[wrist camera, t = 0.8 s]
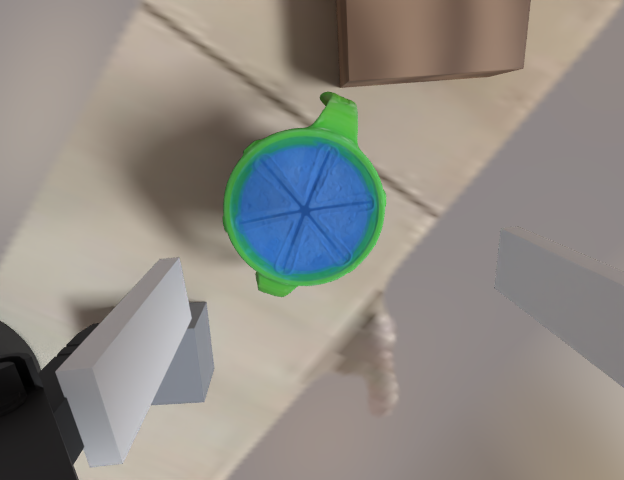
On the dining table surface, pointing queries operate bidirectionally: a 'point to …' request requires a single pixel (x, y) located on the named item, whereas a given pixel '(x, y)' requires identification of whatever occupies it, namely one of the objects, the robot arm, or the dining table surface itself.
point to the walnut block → (429, 39)
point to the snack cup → (305, 202)
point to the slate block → (189, 363)
